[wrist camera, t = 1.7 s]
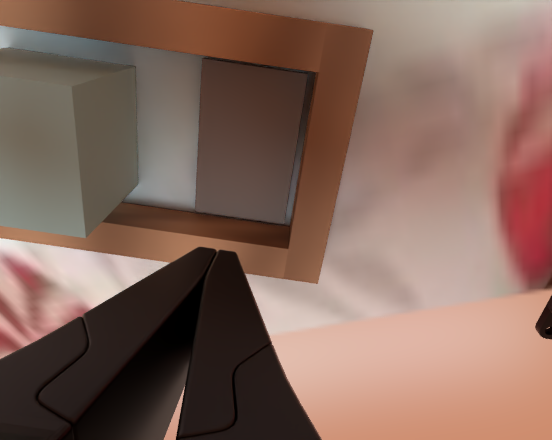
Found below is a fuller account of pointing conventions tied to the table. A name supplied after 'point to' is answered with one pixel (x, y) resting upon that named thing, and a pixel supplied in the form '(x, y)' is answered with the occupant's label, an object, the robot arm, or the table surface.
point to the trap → (247, 139)
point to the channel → (236, 46)
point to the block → (65, 141)
